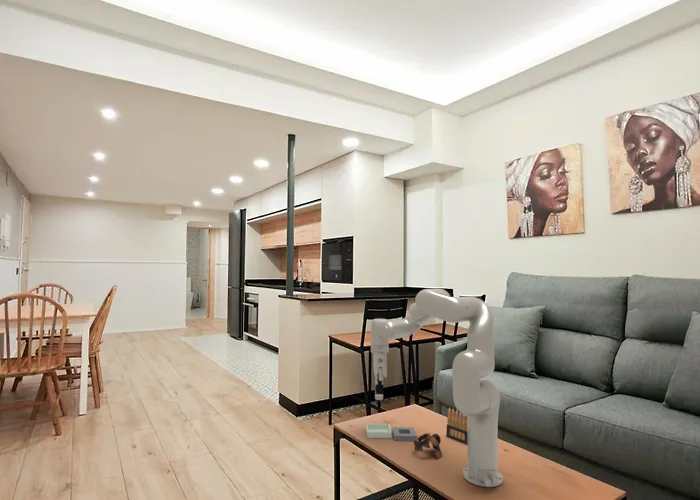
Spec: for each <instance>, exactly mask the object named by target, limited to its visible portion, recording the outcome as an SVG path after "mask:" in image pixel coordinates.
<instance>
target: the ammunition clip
mask: <svg viewBox="0 0 700 500" xmlns="http://www.w3.org/2000/svg"><path fill="white" fill-rule="evenodd" d="M447 411H448V412H447V424H446V435H445V437H446V438H449V439H451V440H453V441H456V442H459V443H461V444H464V445H467V446H468V416H465V415H463V414H461V413H460V412H459V411H458V410H457V409H456V410H455V409H454V408H452V410H451V407H448V409H447Z"/></svg>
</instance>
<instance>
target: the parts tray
mask: <svg viewBox="0 0 700 500" xmlns="http://www.w3.org/2000/svg"><path fill="white" fill-rule="evenodd" d="M365 426H366V427H365V431H366V432H365V433H366V439H375V438H377V439H381V440H383V439H385V440H387V439H389V440H392V439H393V437H392V436H393V433H392V428H391V424H390V423H366V425H365Z"/></svg>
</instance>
